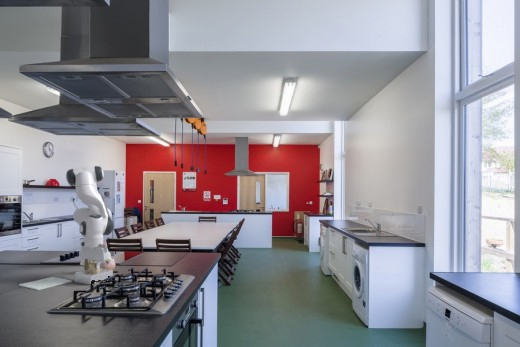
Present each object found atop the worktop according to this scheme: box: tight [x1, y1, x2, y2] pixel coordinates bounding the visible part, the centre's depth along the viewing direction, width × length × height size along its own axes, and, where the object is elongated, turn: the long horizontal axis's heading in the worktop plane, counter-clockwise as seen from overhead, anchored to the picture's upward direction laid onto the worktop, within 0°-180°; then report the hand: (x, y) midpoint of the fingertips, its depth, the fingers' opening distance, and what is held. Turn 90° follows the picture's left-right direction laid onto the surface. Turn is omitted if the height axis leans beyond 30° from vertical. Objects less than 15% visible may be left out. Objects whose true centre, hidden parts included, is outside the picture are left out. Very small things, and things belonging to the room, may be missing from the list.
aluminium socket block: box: [74, 268, 114, 286], centre depth 192 cm, size 14×14×5 cm
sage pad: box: [18, 276, 73, 291], centre depth 185 cm, size 18×18×1 cm
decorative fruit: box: [100, 259, 116, 271], centre depth 206 cm, size 9×8×10 cm
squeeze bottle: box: [83, 259, 96, 270], centre depth 210 cm, size 8×8×18 cm
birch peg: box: [89, 262, 100, 273], centre depth 192 cm, size 4×4×10 cm
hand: (94, 267), depth 192 cm, fingers closed on birch peg, 4 cm apart
